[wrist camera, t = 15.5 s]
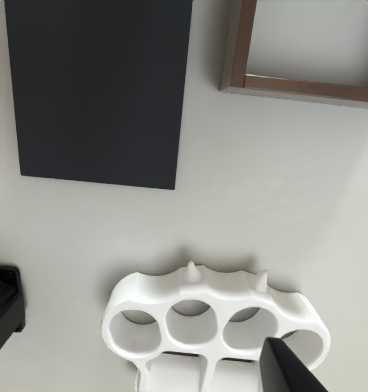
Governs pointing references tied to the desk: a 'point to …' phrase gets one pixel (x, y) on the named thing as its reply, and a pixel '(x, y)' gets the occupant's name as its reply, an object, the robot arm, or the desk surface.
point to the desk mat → (99, 88)
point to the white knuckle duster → (208, 329)
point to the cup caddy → (271, 86)
